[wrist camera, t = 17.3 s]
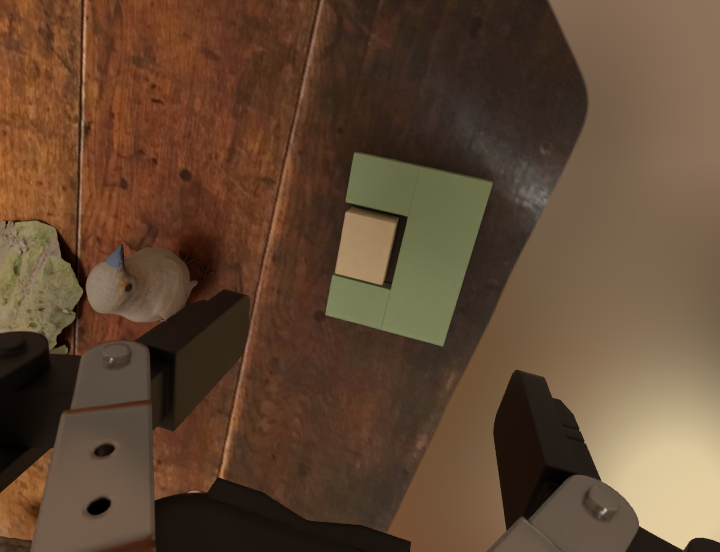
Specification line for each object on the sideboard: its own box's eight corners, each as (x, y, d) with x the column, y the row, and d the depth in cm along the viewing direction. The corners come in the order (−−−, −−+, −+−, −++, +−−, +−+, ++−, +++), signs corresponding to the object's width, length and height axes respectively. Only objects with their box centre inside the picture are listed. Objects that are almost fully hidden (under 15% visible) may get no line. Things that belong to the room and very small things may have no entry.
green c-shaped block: (357, 151, 37) (354, 152, 36) (491, 180, 36) (493, 182, 34) (329, 308, 43) (325, 314, 42) (443, 339, 42) (442, 346, 40)
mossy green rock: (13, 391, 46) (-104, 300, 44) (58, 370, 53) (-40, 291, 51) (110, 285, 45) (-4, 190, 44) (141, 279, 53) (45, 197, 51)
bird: (238, 222, 42) (135, 268, 28) (198, 323, 47) (93, 405, 33) (196, 198, 42) (73, 232, 28) (160, 302, 47) (41, 374, 33)
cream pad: (351, 206, 39) (345, 211, 37) (399, 217, 39) (396, 223, 36) (341, 265, 41) (334, 273, 39) (386, 276, 41) (382, 285, 38)
